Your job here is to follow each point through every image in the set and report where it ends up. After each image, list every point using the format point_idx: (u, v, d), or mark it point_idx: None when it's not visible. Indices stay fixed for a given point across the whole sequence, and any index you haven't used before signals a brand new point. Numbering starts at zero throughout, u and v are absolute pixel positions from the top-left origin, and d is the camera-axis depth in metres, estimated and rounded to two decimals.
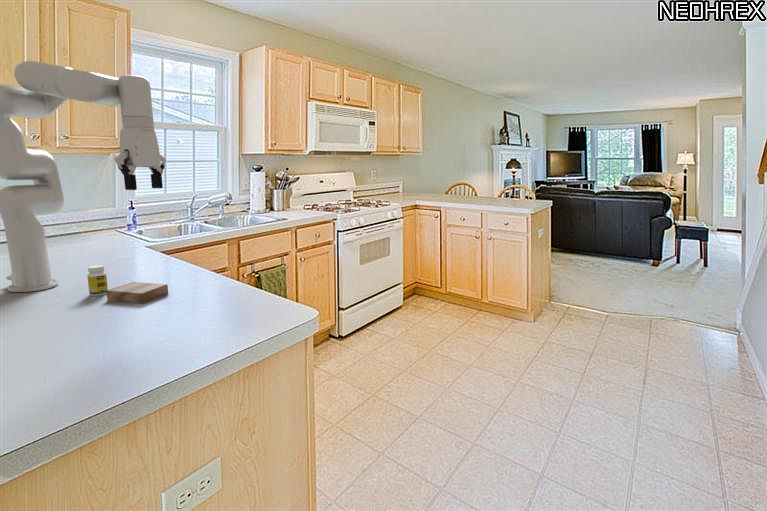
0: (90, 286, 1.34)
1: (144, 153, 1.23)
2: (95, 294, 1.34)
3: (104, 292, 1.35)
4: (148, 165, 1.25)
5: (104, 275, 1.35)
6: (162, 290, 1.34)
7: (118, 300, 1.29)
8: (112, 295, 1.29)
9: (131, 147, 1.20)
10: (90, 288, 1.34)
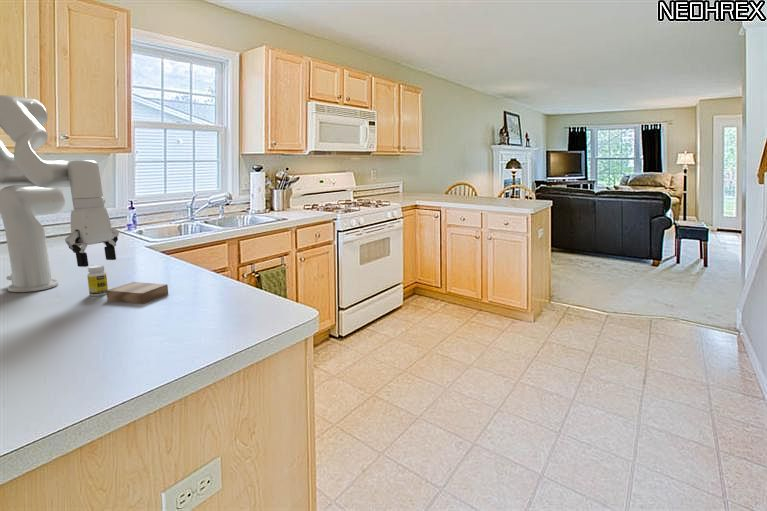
0: (90, 286, 1.34)
1: (95, 231, 1.31)
2: (95, 294, 1.34)
3: (104, 292, 1.35)
4: (99, 241, 1.33)
5: (104, 275, 1.35)
6: (162, 290, 1.34)
7: (118, 300, 1.29)
8: (112, 295, 1.29)
9: (81, 227, 1.27)
10: (90, 288, 1.34)
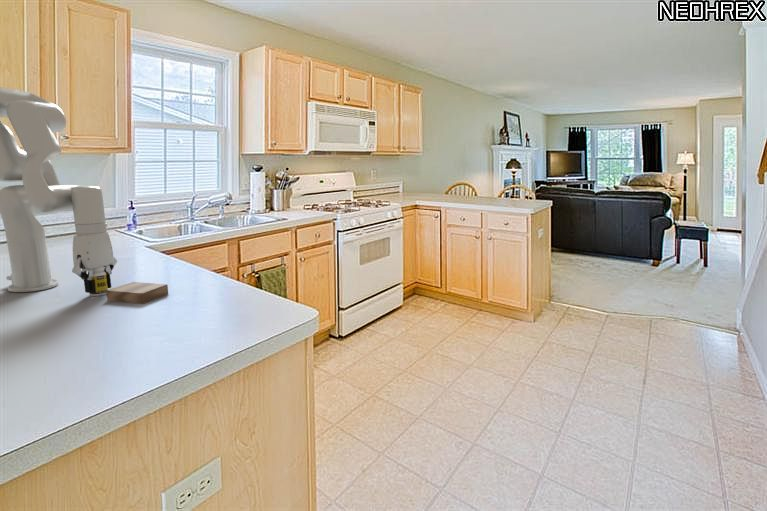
0: None
1: (96, 256, 1.32)
2: (95, 294, 1.34)
3: (104, 292, 1.35)
4: (101, 265, 1.34)
5: (104, 275, 1.35)
6: (162, 290, 1.34)
7: (118, 300, 1.29)
8: (112, 295, 1.29)
9: (83, 253, 1.29)
10: None
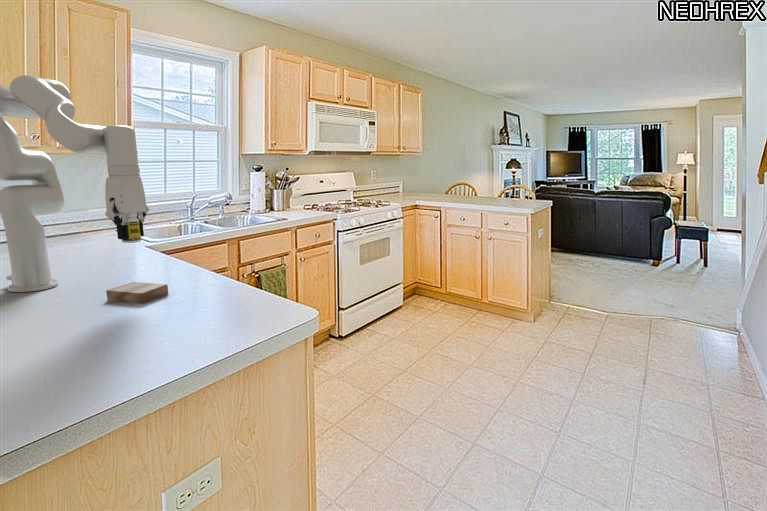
0: None
1: (129, 200, 1.26)
2: (128, 241, 1.28)
3: (137, 239, 1.29)
4: (134, 211, 1.28)
5: (137, 221, 1.29)
6: (162, 290, 1.34)
7: (118, 300, 1.29)
8: (112, 295, 1.29)
9: (116, 195, 1.22)
10: None
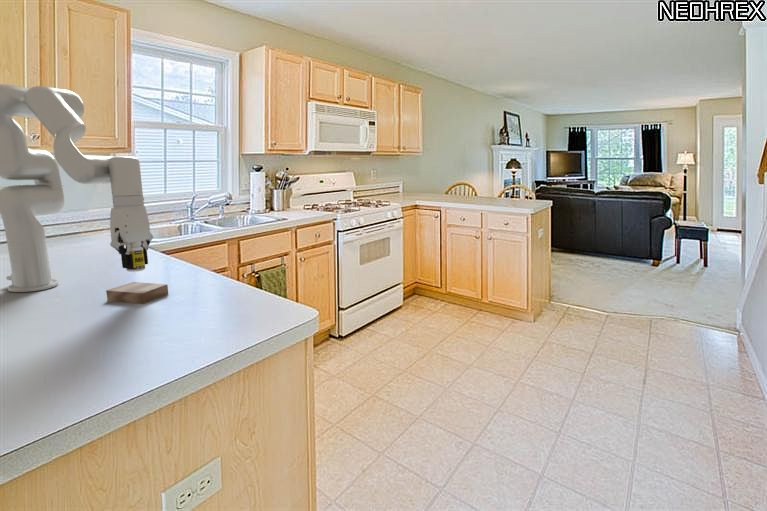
0: None
1: (134, 230, 1.27)
2: (133, 269, 1.29)
3: (142, 268, 1.30)
4: (138, 240, 1.29)
5: (141, 250, 1.30)
6: (162, 290, 1.34)
7: (118, 300, 1.29)
8: (112, 295, 1.29)
9: (121, 226, 1.24)
10: None
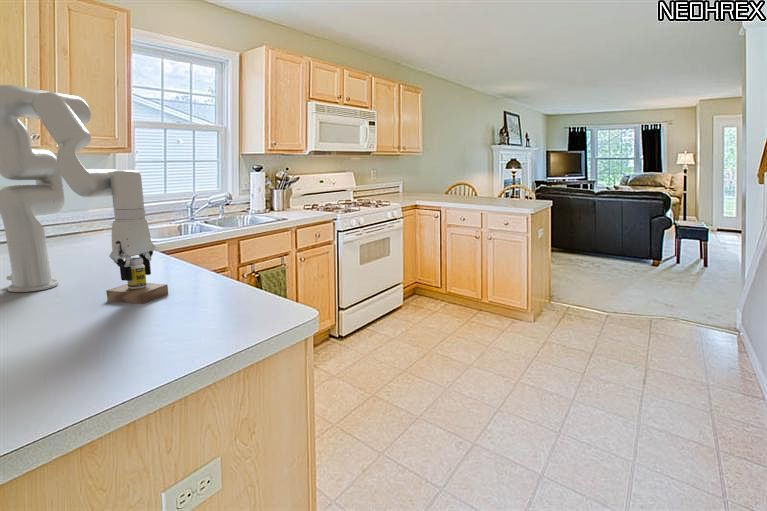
0: None
1: (135, 243, 1.28)
2: (134, 287, 1.30)
3: (143, 285, 1.32)
4: (139, 253, 1.30)
5: (143, 267, 1.31)
6: (162, 290, 1.34)
7: (118, 300, 1.29)
8: (112, 295, 1.29)
9: (123, 239, 1.25)
10: (129, 281, 1.30)
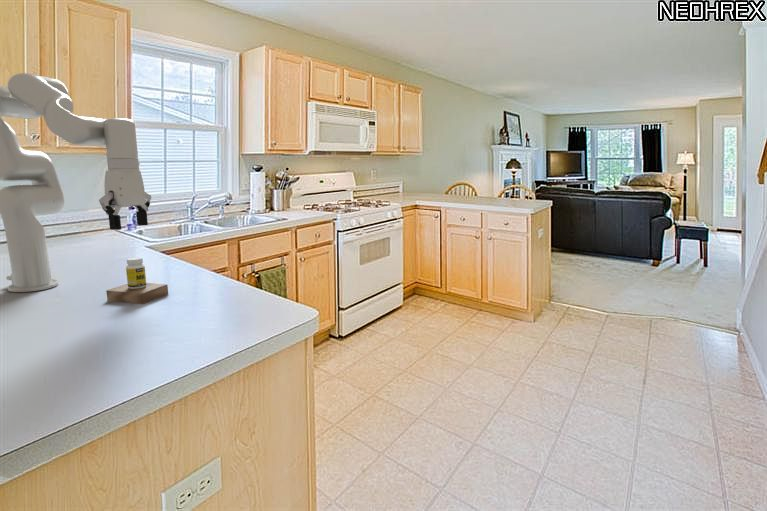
0: (129, 279, 1.30)
1: (129, 193, 1.26)
2: (134, 287, 1.30)
3: (143, 285, 1.32)
4: (133, 204, 1.28)
5: (143, 267, 1.31)
6: (162, 290, 1.34)
7: (118, 300, 1.29)
8: (112, 295, 1.29)
9: (116, 188, 1.22)
10: (129, 281, 1.30)
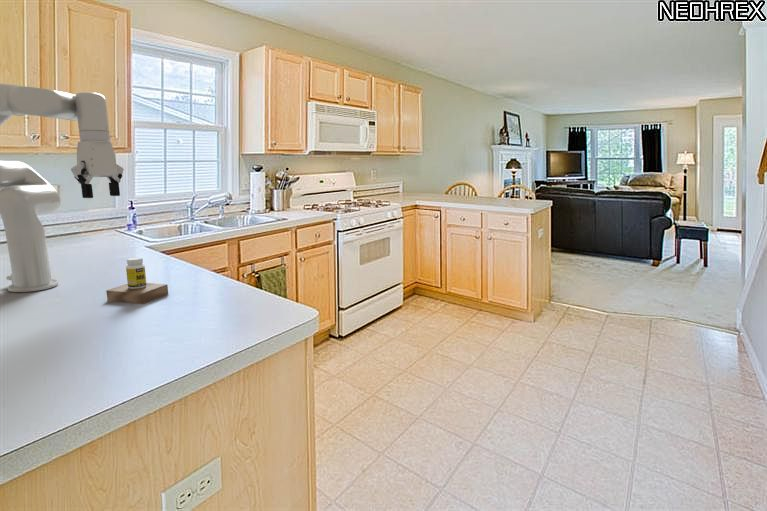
0: (129, 279, 1.30)
1: (100, 164, 1.33)
2: (134, 287, 1.30)
3: (143, 285, 1.32)
4: (104, 175, 1.35)
5: (143, 267, 1.31)
6: (162, 290, 1.34)
7: (118, 300, 1.29)
8: (112, 295, 1.29)
9: (87, 158, 1.30)
10: (129, 281, 1.30)
